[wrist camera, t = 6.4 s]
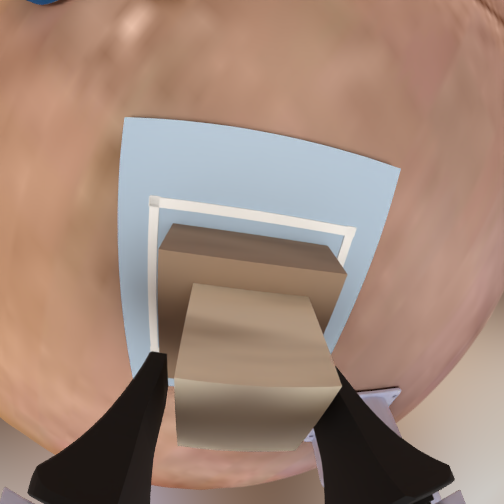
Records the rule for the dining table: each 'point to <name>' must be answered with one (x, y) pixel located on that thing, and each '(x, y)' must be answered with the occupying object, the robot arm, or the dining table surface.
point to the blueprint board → (240, 206)
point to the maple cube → (250, 371)
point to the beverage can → (42, 1)
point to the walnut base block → (239, 274)
